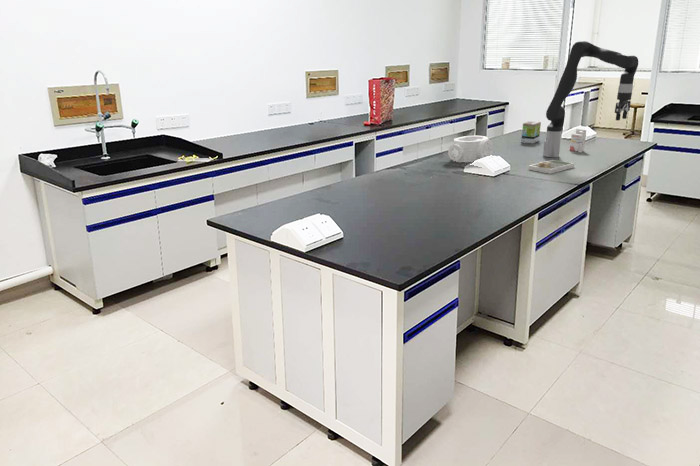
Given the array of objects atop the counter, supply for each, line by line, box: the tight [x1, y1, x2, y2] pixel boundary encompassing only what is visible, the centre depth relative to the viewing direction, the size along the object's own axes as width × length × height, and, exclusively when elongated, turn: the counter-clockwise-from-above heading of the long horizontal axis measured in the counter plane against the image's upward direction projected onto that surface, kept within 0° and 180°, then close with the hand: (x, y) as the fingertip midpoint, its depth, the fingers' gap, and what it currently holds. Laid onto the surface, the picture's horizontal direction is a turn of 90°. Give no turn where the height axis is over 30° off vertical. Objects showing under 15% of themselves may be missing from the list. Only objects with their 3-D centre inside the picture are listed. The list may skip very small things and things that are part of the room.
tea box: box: [520, 121, 542, 144], centre depth 417 cm, size 15×10×15 cm, turn 147°
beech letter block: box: [537, 160, 551, 169], centre depth 327 cm, size 5×5×5 cm
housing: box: [447, 135, 494, 163], centre depth 361 cm, size 35×22×14 cm, turn 134°
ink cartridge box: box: [569, 128, 587, 153], centre depth 379 cm, size 9×5×15 cm, turn 34°
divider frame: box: [528, 159, 576, 175], centre depth 332 cm, size 15×25×2 cm, turn 127°
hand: (620, 119), depth 323 cm, fingers open, 8 cm apart
